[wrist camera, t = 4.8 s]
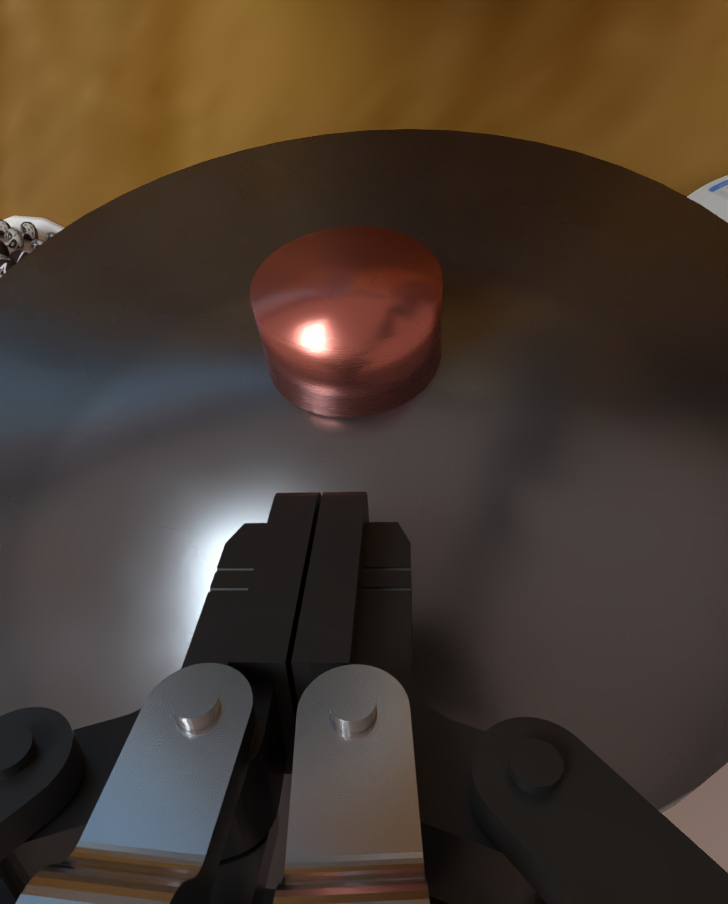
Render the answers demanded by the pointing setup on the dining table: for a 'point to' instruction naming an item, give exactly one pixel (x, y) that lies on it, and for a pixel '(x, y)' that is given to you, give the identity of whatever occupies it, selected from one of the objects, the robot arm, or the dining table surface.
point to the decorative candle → (23, 238)
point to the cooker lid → (385, 429)
